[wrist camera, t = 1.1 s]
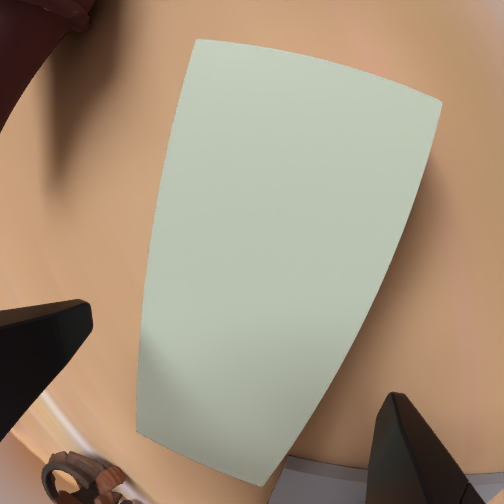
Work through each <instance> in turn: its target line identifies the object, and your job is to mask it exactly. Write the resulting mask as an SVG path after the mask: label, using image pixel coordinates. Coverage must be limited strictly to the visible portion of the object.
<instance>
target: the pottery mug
mask: <svg viewBox="0 0 504 504" xmlns="http://www.w3.org/2000/svg"><path fill="white" fill-rule="evenodd" d="M42 470H43V471H42V477H41V478H42V483H43V486H44V489H45V491H46V493H47V495H48V496H49V498H50V499H51V500H52V501H53V503H54V504H118V503H119V500H120V498H121V497H122V494H121V493H115V492H112V491H111V489H113V488H115V487H116V486H118V485H119V484H123V482H124V480H125V477H124V475H123V473H122V472H121V470H120V468H119V467H117V466H115V467H112V466H111V467H108V468H106V467H105V466H104V465H103V464H101V463H98V462H96V461H94V460H92V459H89V458H87V457H85V456H83V455H80V454H77V453H75V452H72V451H70V452H69V454H67V453H66V452H65V451H63V452H59V453H56V454H52V455H51V457H50V459H49V462H48V464H46V465H45V466H44V468H43V469H42ZM53 470H61V471H64V472H66V473H68V474H70V475H71V476H73V478H74V479H75V480H76V482H77V485H78V486H79V488H80V490H79V491H77V492H74V493H71V494H69V493H68V492H66V491H62V490H61V491H59V492H57V490H56V487H55V477H54V475H53V474H52V471H53ZM120 504H132V501H131V500H128V501H126V500H124V501H123V502H121V503H120Z"/></svg>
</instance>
